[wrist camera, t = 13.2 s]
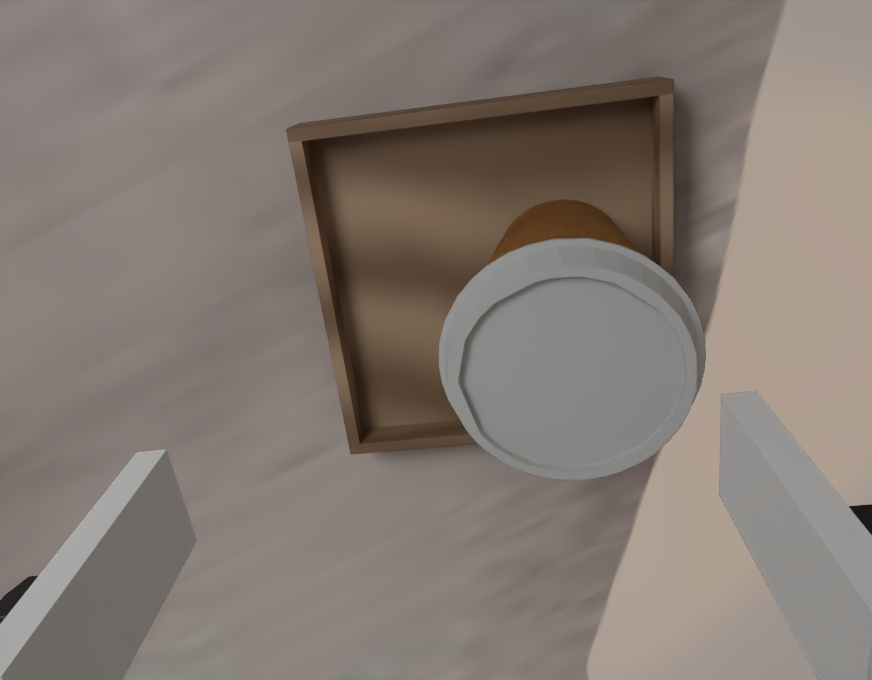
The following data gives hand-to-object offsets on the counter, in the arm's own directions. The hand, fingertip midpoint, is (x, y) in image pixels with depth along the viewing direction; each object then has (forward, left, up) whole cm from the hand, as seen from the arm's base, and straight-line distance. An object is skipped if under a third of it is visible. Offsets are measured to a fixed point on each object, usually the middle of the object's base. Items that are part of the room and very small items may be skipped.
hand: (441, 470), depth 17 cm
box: (+2, +2, -21) cm, 21 cm away
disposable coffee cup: (+1, +5, -20) cm, 21 cm away
